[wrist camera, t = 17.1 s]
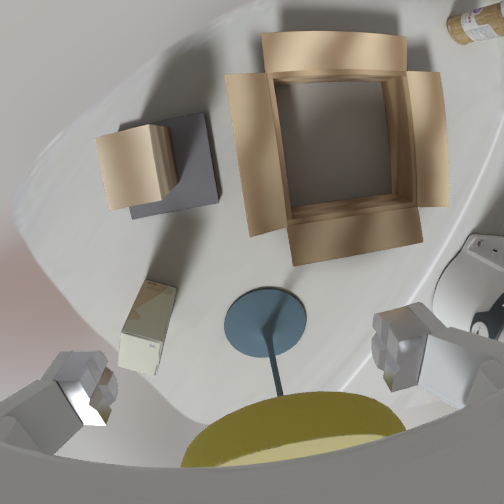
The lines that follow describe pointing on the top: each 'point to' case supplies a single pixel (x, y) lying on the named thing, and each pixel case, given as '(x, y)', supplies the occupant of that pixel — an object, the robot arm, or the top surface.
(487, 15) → the sprinkles bottle
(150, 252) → the top surface
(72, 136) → the top surface
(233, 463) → the cocktail glass
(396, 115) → the carton
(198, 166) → the mat
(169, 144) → the block
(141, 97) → the top surface
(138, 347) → the box
